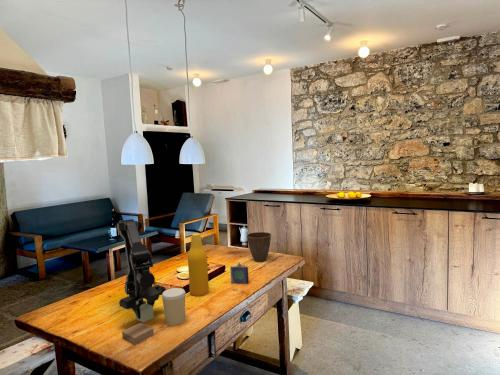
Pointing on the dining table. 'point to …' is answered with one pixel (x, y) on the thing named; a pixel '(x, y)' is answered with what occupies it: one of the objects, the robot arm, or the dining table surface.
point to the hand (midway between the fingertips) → (144, 316)
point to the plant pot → (259, 245)
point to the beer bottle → (197, 267)
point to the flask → (239, 274)
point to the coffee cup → (174, 306)
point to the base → (137, 333)
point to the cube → (145, 313)
